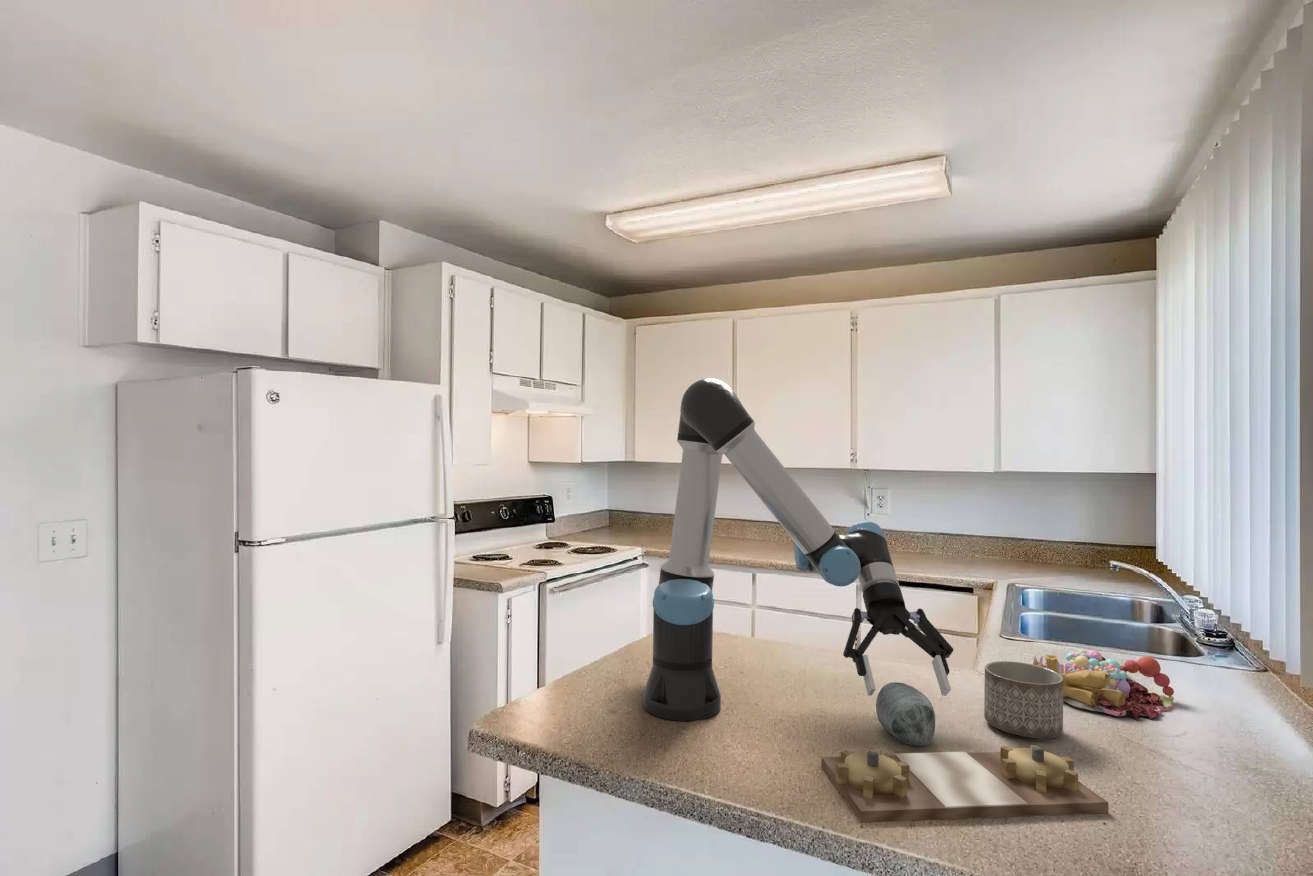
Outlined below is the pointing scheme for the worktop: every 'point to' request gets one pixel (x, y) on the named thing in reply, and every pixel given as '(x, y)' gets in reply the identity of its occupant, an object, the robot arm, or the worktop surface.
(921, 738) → the grey streaked egg
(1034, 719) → the planter
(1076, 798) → the gear board
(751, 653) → the worktop surface
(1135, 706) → the candy landscape model
